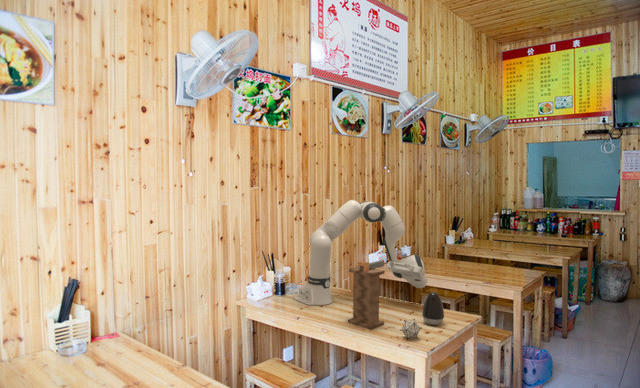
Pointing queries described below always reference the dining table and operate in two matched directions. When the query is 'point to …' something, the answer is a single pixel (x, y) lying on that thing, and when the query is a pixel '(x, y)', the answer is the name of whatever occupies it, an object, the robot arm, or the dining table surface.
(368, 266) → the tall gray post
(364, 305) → the walnut stand
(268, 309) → the dining table surface
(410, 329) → the game die
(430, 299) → the pump dispenser
